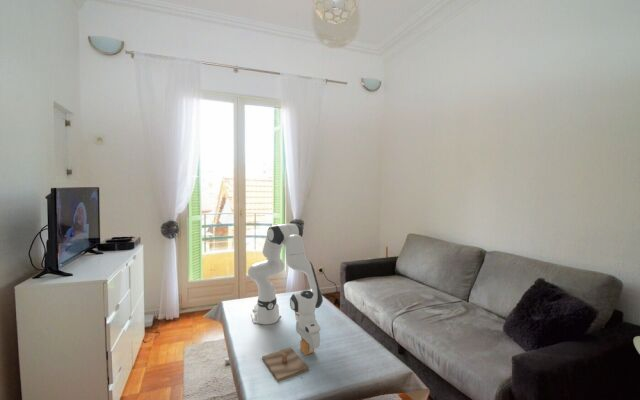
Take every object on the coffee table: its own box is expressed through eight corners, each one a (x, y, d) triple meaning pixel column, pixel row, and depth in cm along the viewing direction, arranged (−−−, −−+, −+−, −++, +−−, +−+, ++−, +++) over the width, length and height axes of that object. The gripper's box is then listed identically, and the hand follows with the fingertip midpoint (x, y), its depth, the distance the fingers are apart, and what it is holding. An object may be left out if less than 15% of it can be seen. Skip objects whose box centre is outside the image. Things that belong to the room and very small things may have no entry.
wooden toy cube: (300, 350, 160) (300, 340, 159) (309, 347, 162) (309, 337, 162) (305, 355, 155) (305, 345, 154) (314, 352, 158) (314, 342, 157)
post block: (262, 359, 152) (261, 349, 151) (290, 349, 160) (290, 340, 160) (277, 382, 135) (277, 370, 134) (308, 370, 143) (308, 359, 143)
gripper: (293, 316, 165) (293, 340, 166) (311, 332, 147) (311, 359, 148) (303, 313, 168) (303, 337, 169) (322, 329, 150) (322, 355, 151)
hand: (307, 347), depth 158 cm, fingers closed on wooden toy cube, 5 cm apart
